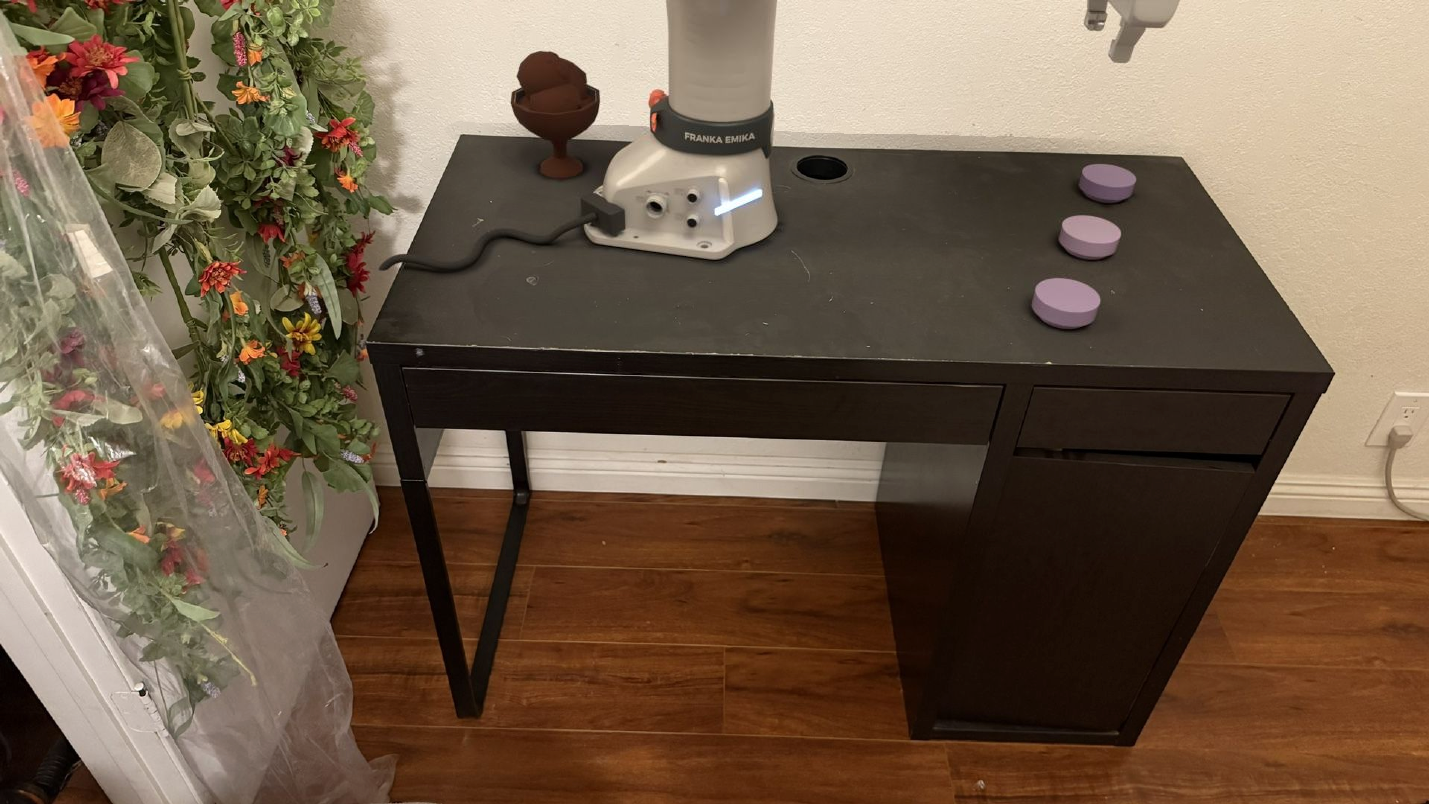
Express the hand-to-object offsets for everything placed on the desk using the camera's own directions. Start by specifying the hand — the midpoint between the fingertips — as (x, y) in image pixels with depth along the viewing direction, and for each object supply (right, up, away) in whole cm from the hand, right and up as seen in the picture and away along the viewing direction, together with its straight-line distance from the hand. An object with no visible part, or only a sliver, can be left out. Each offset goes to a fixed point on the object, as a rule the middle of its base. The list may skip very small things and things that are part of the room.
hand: (1104, 44), depth 101 cm
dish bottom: (+9, -11, +22) cm, 26 cm away
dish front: (-4, -28, +1) cm, 28 cm away
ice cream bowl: (-59, -7, +25) cm, 65 cm away
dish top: (+2, -19, +11) cm, 22 cm away
